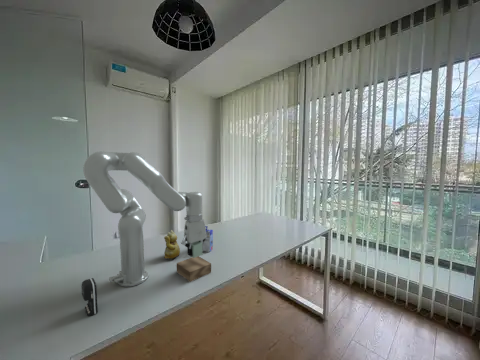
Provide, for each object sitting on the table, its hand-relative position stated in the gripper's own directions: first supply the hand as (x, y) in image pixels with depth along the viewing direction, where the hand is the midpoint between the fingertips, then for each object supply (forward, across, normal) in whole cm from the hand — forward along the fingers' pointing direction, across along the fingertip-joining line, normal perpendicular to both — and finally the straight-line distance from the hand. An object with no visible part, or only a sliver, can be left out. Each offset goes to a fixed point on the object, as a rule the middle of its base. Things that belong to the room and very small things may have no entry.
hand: (195, 253), depth 106 cm
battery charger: (+9, -43, +3) cm, 44 cm away
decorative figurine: (+10, 0, +22) cm, 24 cm away
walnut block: (+10, -1, 0) cm, 10 cm away
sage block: (+1, 0, 0) cm, 1 cm away
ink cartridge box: (+10, +19, +18) cm, 28 cm away
